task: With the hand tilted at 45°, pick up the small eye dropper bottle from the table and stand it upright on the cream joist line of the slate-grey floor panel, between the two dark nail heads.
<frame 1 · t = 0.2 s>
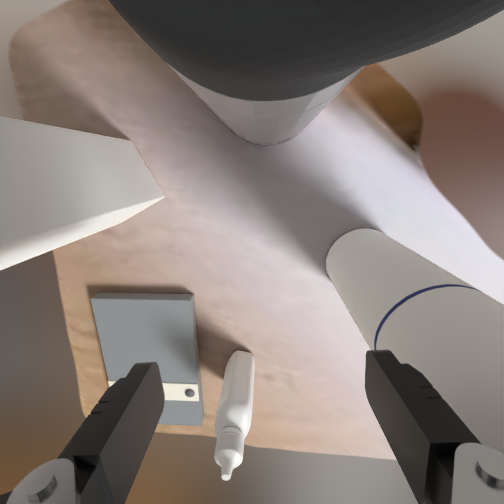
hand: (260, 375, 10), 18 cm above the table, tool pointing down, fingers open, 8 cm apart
eye dropper bottle: (240, 366, 32), on the table
floor panel: (155, 358, 32), on the table
cylindrical container: (360, 261, 27), on the table
milk: (125, 183, 26), on the table
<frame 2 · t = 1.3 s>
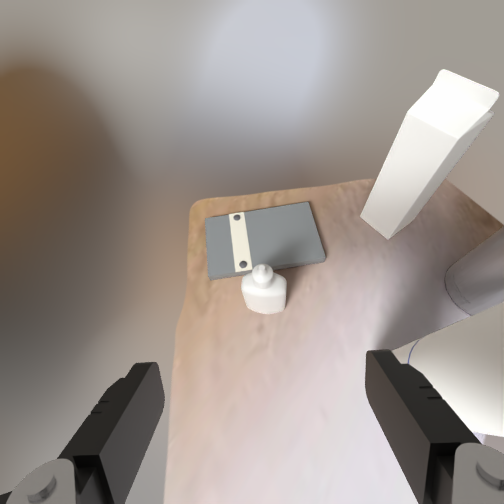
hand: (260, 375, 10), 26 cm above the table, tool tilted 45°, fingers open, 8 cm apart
eye dropper bottle: (266, 303, 39), on the table
floor panel: (261, 241, 44), on the table
cylindrical container: (396, 385, 32), on the table
milk: (385, 219, 44), on the table
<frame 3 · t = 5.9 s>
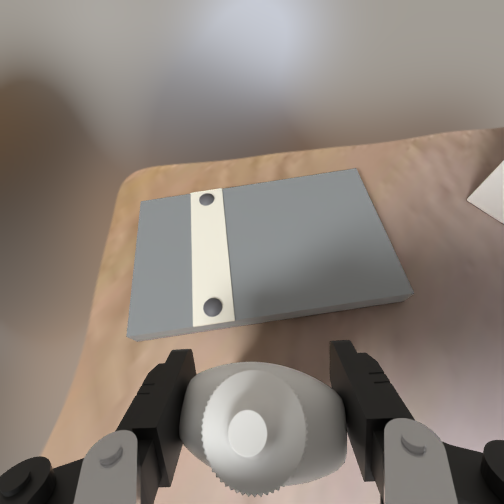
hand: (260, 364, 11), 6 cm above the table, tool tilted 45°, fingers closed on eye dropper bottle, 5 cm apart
eye dropper bottle: (267, 410, 15), on the table, touching gripper
floor panel: (258, 250, 20), on the table
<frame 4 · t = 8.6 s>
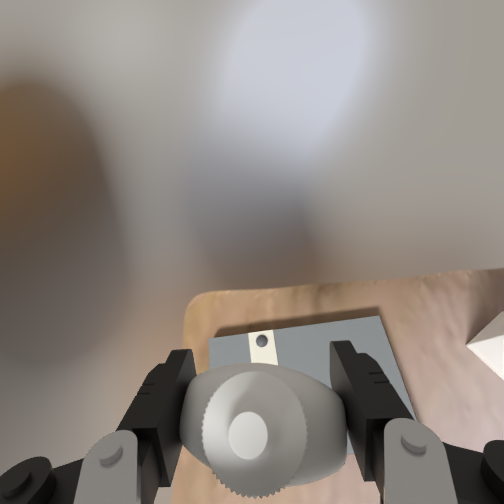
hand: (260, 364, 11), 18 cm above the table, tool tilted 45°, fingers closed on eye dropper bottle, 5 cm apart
eye dropper bottle: (267, 410, 15), point 12 cm above the table, touching gripper
floor panel: (303, 386, 26), on the table
when the fingers open (9 cm above the table, at t = 11.5 s): eye dropper bottle stays where it is, resting on floor panel.
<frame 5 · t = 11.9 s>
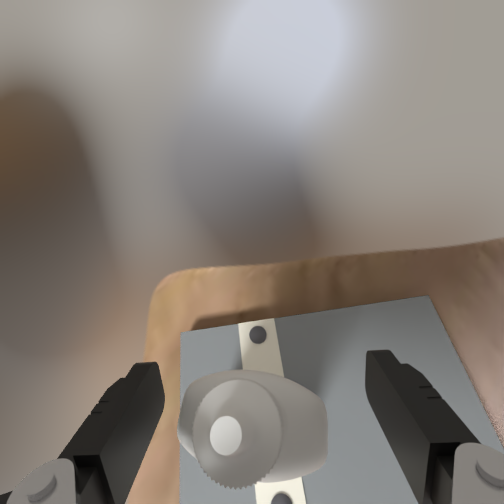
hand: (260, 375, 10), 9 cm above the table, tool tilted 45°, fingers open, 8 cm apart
eye dropper bottle: (264, 412, 16), point 1 cm above the table, touching floor panel
floor panel: (320, 401, 17), on the table
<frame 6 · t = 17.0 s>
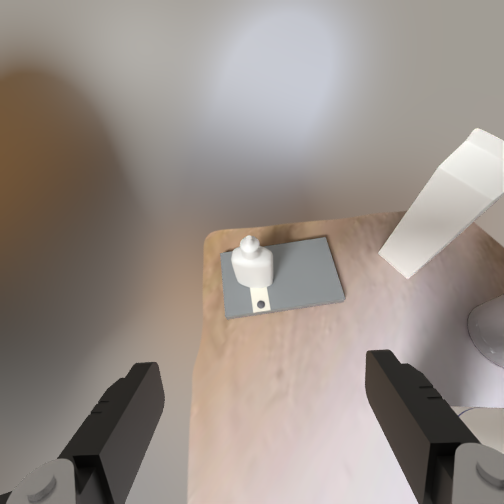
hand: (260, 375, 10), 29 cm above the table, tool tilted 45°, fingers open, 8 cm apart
eye dropper bottle: (255, 279, 42), point 1 cm above the table, touching floor panel
floor panel: (278, 278, 43), on the table
cylindrical container: (421, 439, 31), on the table
milk: (403, 256, 43), on the table
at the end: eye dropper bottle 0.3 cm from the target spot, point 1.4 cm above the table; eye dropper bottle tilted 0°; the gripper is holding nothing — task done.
